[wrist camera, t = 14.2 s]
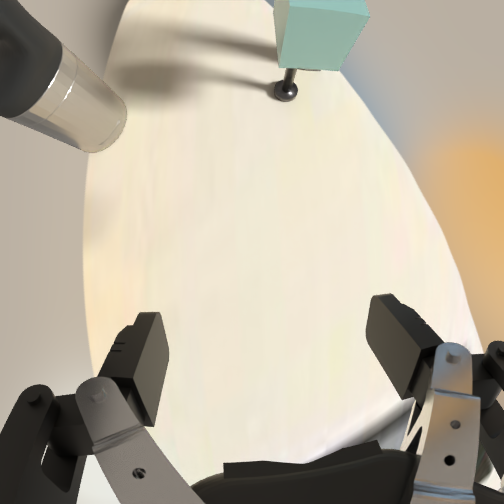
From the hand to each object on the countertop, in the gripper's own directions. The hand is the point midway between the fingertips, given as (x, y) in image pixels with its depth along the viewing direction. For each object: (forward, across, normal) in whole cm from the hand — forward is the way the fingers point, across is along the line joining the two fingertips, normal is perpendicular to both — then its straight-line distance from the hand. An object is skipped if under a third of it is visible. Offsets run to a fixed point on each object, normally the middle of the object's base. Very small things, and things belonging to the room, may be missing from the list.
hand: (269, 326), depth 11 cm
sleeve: (+16, -6, -15) cm, 23 cm away
